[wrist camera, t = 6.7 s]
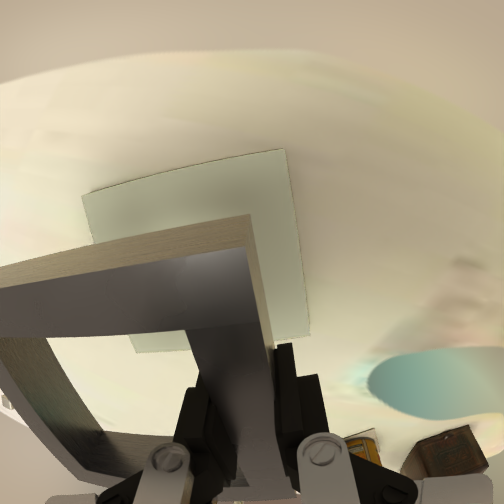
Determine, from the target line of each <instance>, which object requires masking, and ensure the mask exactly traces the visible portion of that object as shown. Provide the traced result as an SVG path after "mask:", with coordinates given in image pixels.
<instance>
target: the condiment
mask: <svg viewBox="0 0 504 504" xmlns="http://www.w3.org/2000/svg"><path fill="white" fill-rule="evenodd" d="M343 440H344V441H345V443H346V445H347V449H348V451H349V452H351V453H353V454H355V455H357V456H359V457H362V458H364V459H366V460H368V461H370V462H373V463H375V464H377V465H380V466H382V464H381V461H380V457H379V454H378V452H380V450H379V445H378V441H377V437H376V432H375V429H372V430H369V431H366V432H363V433H360V434H357V435H353V436H351V437H347V438H345V439H343Z"/></svg>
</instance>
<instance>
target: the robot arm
mask: <svg viewBox="0 0 504 504" xmlns="http://www.w3.org/2000/svg"><path fill="white" fill-rule="evenodd" d="M274 365H275V387H276V400H274V425H275V435H276V440H277V444H278V448H279V452H280V456H281V460H282V464H283V468H284V472H285V476H286V477H290V482H291V486H292V488H293V489H294V490H296V491H298V492H299V493H301V502H302V504H493V484H492V480H491V479H490V478H489V477H488V476H487V475H484V474H480V473H475V474H467V475H458V476H447V477H432V478H424V480H412V479H410V478H409V477H407V476H404V475H402V474H399V473H397V472H394V471H392V470H389V469H387V468H384V467H382V466H380V465H377V464H375V463H373V462H370V461H368V460H366V459H364V458H362V457H359V456H357V455H355V454H353V453H351V452H349V451H348V449H347V445H346V443H345V441H344V440H343V439H342V438H341V437H340V436H338V435H336V434H333V433H330V432H329V427H328V422H327V417H326V412H325V407H324V402H323V397H322V392H321V387H320V382H319V378H318V374H313V375H307V376H301V377H297V376H296V368H295V361H294V354H293V347H292V343H285V344H278V345H277V349H274ZM237 457H238V456H237V454H236V452H235V450H234V447H233V445H232V443H231V441H230V438H229V436H228V434H227V431H226V429H225V427H224V424H223V422H222V420H221V417H220V415H219V412H218V410H217V407H216V405H214V406H213V404H212V402H211V399H210V397H209V394H208V392H207V389H206V387H205V384H204V382H203V379H202V377H201V374H200V371H199V375H198V379H197V383H196V387H189V388H188V389H187V390H186V393H185V396H184V400H183V404H182V407H181V411H180V415H179V419H178V422H177V426H176V430H175V434H174V437H173V441H172V442H168V443H164V444H160V445H159V446H157V447H155V448H154V449H153V450H152V451H151V452H150V454H149V456H148V458H147V461H146V464H145V467H144V469H143V470H141V471H139V472H138V473H136V474H134V475H132V476H131V477H129V478H127V479H125V480H123V481H122V482H120V483H118V484H116V485H114V486H112V487H110V488H108V489H107V490H105V491H104V492H103V493H101V494H100V495H96V494H95V493H92V494H79V495H57V496H52V497H50V498H49V499H48V500H47V501H46V503H45V504H217V501H218V496H217V495H219V494H220V493H222V492H223V487H230V484H231V480H235V479H236V470H237Z"/></svg>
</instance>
